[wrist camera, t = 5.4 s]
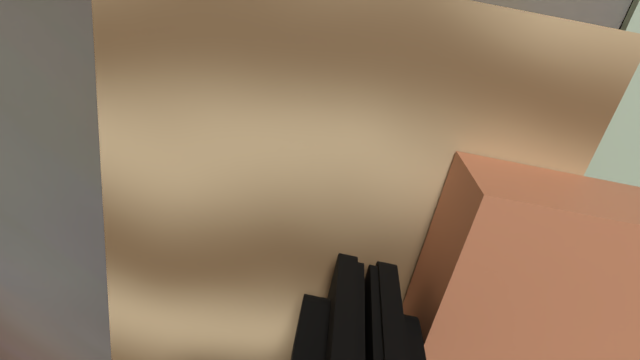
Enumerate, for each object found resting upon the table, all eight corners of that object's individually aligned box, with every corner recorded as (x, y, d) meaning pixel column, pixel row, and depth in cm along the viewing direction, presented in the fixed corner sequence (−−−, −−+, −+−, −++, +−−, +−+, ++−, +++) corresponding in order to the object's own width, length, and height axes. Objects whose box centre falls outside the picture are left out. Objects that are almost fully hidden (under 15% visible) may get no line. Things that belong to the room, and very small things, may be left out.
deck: (162, -59, 13) (87, -75, 9) (572, 22, 13) (652, 36, 9) (158, 322, 20) (113, 396, 16) (426, 375, 20) (441, 461, 16)
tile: (456, 150, 11) (484, 194, 9) (679, 194, 11) (765, 249, 9) (374, 385, 15) (378, 458, 12) (540, 416, 15) (574, 493, 13)
